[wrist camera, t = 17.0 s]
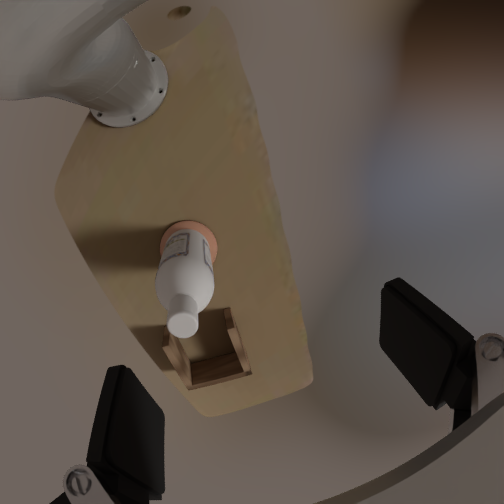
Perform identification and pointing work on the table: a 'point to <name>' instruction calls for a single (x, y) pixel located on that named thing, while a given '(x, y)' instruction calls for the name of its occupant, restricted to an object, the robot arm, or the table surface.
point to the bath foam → (185, 280)
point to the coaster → (195, 226)
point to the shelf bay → (212, 368)
